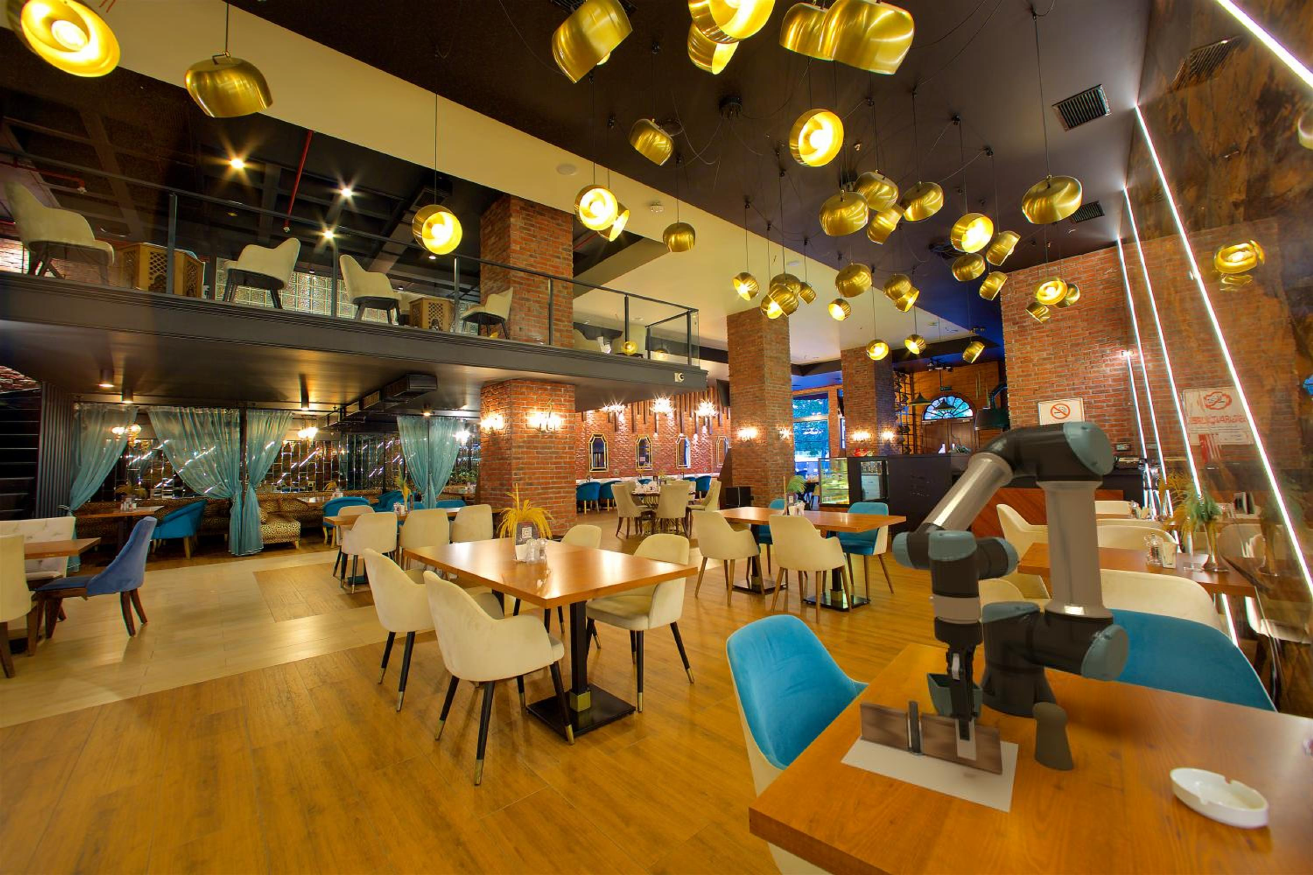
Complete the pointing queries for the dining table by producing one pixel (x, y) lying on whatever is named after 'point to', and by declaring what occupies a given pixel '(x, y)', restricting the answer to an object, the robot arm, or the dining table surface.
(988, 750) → the fence panel
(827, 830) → the dining table surface
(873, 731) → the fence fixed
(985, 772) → the card
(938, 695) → the flower pot
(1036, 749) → the cork
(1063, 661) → the robot arm
